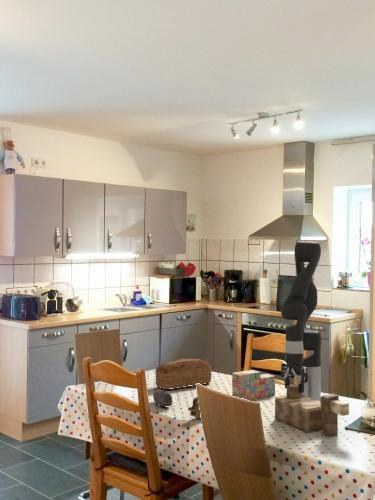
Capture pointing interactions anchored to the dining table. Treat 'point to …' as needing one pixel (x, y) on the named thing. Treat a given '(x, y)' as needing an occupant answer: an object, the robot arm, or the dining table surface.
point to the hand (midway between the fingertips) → (294, 390)
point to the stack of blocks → (252, 384)
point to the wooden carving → (195, 408)
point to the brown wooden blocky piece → (309, 417)
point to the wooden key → (338, 407)
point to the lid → (298, 400)
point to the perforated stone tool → (162, 398)
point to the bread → (183, 373)
